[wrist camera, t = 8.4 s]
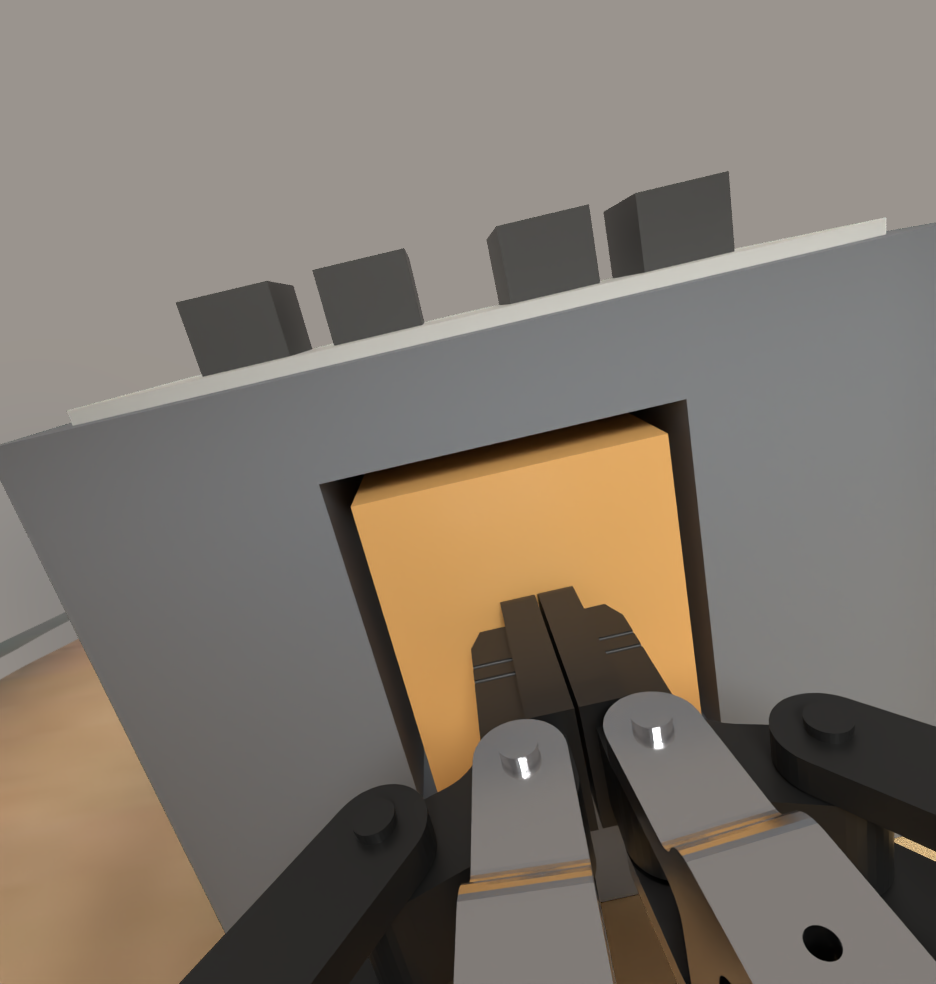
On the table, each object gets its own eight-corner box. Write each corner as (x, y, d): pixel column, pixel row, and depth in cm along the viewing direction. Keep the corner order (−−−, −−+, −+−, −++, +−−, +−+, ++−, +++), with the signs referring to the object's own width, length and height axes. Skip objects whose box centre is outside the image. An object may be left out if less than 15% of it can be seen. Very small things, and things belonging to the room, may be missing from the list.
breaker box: (248, 979, 14) (-68, 341, 10) (312, 749, 22) (153, 327, 17) (956, 824, 14) (992, 88, 9) (774, 645, 22) (743, 187, 17)
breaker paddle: (438, 797, 13) (350, 507, 11) (438, 665, 18) (376, 446, 15) (704, 738, 13) (668, 433, 11) (631, 621, 18) (595, 395, 15)
